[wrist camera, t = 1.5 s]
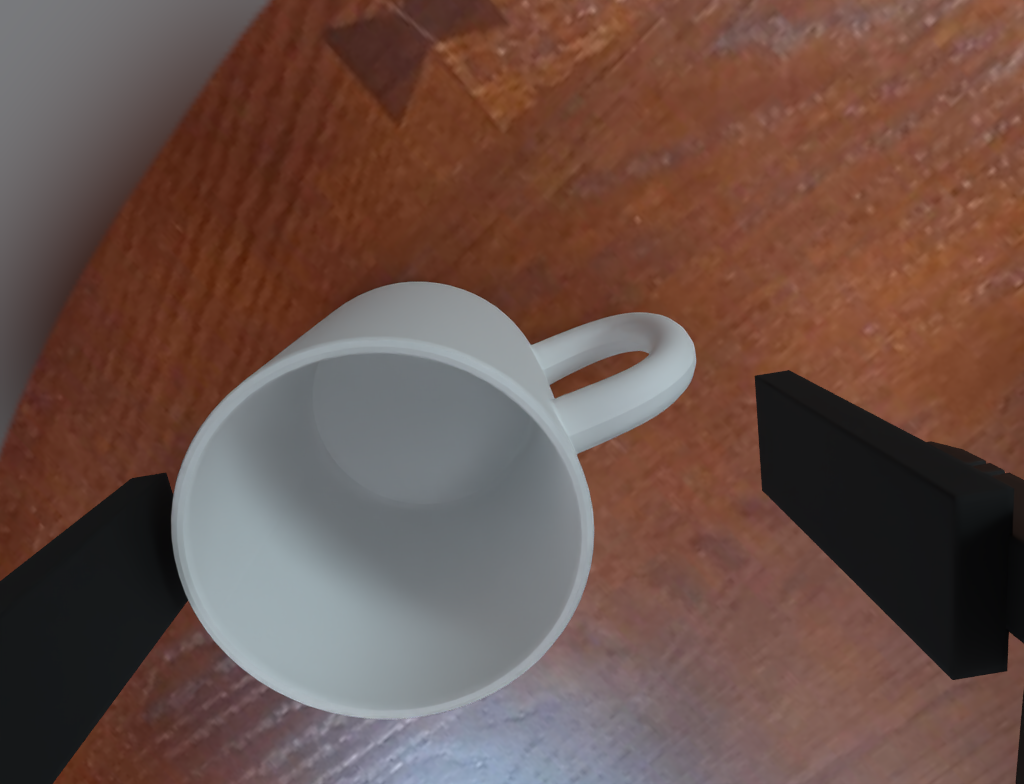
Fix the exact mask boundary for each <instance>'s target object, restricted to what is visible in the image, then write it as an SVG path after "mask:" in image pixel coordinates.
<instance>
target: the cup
mask: <svg viewBox="0 0 1024 784" xmlns="http://www.w3.org/2000/svg"><path fill="white" fill-rule="evenodd" d="M631 351H644V352H647V353H649V355H648V357H646V358H645V359H644V360H643V361H641V362H639V363H638V364H636V365H634V366H633V367H631V368H629V369H627V370H625V371H622V372H620V373H618V374H616V375H613V376H611V377H609V378H606V379H604V380H601V381H599V382H596V383H594V384H592V385H589V386H586V387H584V388H581V389H579V390H576V391H574V392H571V393H568V394H566V395H563V396H561V397H558V398H555V399H554V396H553V393H552V391H551V388H550V384H552V383H554V382H556V381H558V380H560V379H562V378H564V377H565V376H567V375H569V374H571V373H573V372H575V371H577V370H579V369H581V368H584V367H586V366H588V365H590V364H592V363H595V362H597V361H599V360H602V359H605V358H607V357H610V356H613V355H617V354H620V353H625V352H631ZM695 366H696V354H695V348H694V344H693V342H692V339H691V338H690V337H689V335H688V334H687V332H686V331H685V329H684V328H683V327H682V326H680V325H679V324H678V323H676V322H674V321H673V320H671V319H670V318H667V317H665V316H662V315H658V314H652V313H642V312H635V313H626V314H619V315H615V316H610V317H606V318H603V319H599V320H596V321H593V322H590V323H587V324H584V325H581V326H578V327H575V328H573V329H570V330H568V331H565V332H562V333H560V334H557V335H555V336H552V337H550V338H548V339H545V340H543V341H540V342H538V343H535V344H533V345H531V344H530V343H529V341H528V340H527V338H526V337H525V335H524V334H523V333H522V332H521V330H520V329H519V328H518V327H517V326H516V324H515V323H514V322H513V321H512V320H511V319H510V318H509V317H508V316H507V315H506V314H504V313H503V312H502V311H501V310H499V309H498V308H497V307H496V306H494V305H493V304H491V303H490V302H488V301H487V300H485V299H483V298H481V297H479V296H477V295H475V294H473V293H471V292H468V291H466V290H463V289H460V288H457V287H453V286H450V285H445V284H440V283H432V282H404V283H396V284H391V285H386V286H383V287H379V288H376V289H373V290H371V291H368V292H366V293H364V294H361V295H359V296H357V297H355V298H354V299H352V300H350V301H348V302H346V303H345V304H343V305H342V306H341V307H339V308H338V309H336V310H335V311H333V312H332V313H331V314H329V315H328V316H327V317H326V318H324V319H323V320H322V321H320V322H319V323H318V324H317V325H315V326H314V327H313V328H311V329H310V330H309V331H308V332H306V333H305V334H304V335H302V336H301V337H300V338H299V339H297V340H296V341H295V342H293V343H292V344H291V345H290V346H288V347H287V348H286V349H284V350H283V351H282V352H281V353H279V354H278V355H277V356H275V357H274V358H273V359H272V360H270V361H269V362H268V363H266V364H265V365H264V366H262V367H261V368H260V369H259V370H257V371H256V372H255V373H253V374H252V375H251V376H250V377H248V378H247V379H246V380H244V381H243V382H242V383H241V384H240V385H238V386H237V387H236V388H235V389H234V390H233V391H231V392H230V393H229V394H228V395H227V396H226V397H225V398H224V399H223V400H222V401H221V402H220V403H219V404H218V405H217V406H216V408H215V409H214V410H213V411H212V412H211V413H210V415H209V416H208V417H207V419H206V420H205V421H204V423H203V424H202V425H201V427H200V429H199V430H198V432H197V434H196V435H195V437H194V439H193V440H192V442H191V444H190V446H189V448H188V450H187V453H186V455H185V457H184V459H183V462H182V464H181V468H180V471H179V474H178V477H177V480H176V485H175V490H174V495H173V501H172V513H171V536H172V545H173V552H174V558H175V562H176V566H177V570H178V574H179V578H180V580H181V583H182V586H183V588H184V591H185V594H186V596H187V598H188V600H189V602H190V604H191V606H192V608H193V610H194V612H195V614H196V615H197V617H198V619H199V620H200V622H201V623H202V625H203V627H204V628H205V629H206V631H207V632H208V633H209V635H210V636H211V637H212V638H213V640H214V641H215V642H216V643H217V644H218V646H219V647H220V648H221V649H222V650H223V651H224V652H225V653H226V654H227V655H228V656H229V657H230V658H231V659H232V660H233V661H234V662H235V663H237V664H238V665H239V666H240V667H241V668H242V669H243V670H245V671H246V672H247V673H249V674H250V675H252V676H253V677H254V678H256V679H257V680H258V681H260V682H262V683H263V684H265V685H266V686H268V687H270V688H271V689H273V690H275V691H277V692H279V693H281V694H283V695H285V696H287V697H289V698H291V699H293V700H295V701H298V702H300V703H303V704H305V705H308V706H311V707H314V708H317V709H320V710H324V711H327V712H331V713H336V714H340V715H345V716H351V717H359V718H368V719H406V718H415V717H423V716H428V715H433V714H439V713H443V712H446V711H450V710H453V709H457V708H460V707H463V706H465V705H468V704H471V703H473V702H476V701H478V700H480V699H482V698H484V697H486V696H488V695H491V694H493V693H494V692H496V691H498V690H499V689H501V688H503V687H505V686H506V685H508V684H510V683H511V682H512V681H514V680H515V679H516V678H518V677H519V676H521V675H522V674H523V673H525V672H526V671H527V670H528V669H529V668H530V667H531V666H533V665H534V664H535V663H536V662H537V661H538V660H539V659H540V658H541V657H542V656H543V655H544V654H545V653H546V652H547V651H548V650H549V649H550V647H551V646H552V645H553V644H554V642H555V641H556V640H557V638H558V637H559V636H560V635H561V633H562V632H563V630H564V629H565V627H566V626H567V624H568V622H569V621H570V619H571V618H572V616H573V614H574V612H575V610H576V608H577V606H578V604H579V602H580V599H581V597H582V594H583V591H584V589H585V586H586V583H587V579H588V575H589V571H590V567H591V562H592V555H593V547H594V520H593V509H592V503H591V498H590V492H589V489H588V485H587V482H586V479H585V475H584V472H583V470H582V467H581V465H580V462H579V460H578V457H577V454H578V453H580V452H583V451H585V450H587V449H590V448H592V447H594V446H597V445H599V444H601V443H604V442H606V441H608V440H610V439H613V438H615V437H617V436H619V435H621V434H623V433H625V432H627V431H630V430H632V429H634V428H635V427H637V426H639V425H641V424H643V423H645V422H647V421H648V420H650V419H652V418H653V417H655V416H657V415H658V414H660V413H661V412H663V411H664V410H665V409H667V408H668V407H669V406H670V405H671V404H673V403H674V402H675V401H676V400H677V399H678V397H679V396H680V395H681V394H682V393H683V392H684V391H685V390H686V388H687V387H688V385H689V384H690V382H691V380H692V377H693V374H694V370H695Z"/></svg>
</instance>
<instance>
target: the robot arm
mask: <svg viewBox="0 0 1024 784" xmlns="http://www.w3.org/2000/svg"><path fill="white" fill-rule="evenodd" d="M755 387H756V402H757V418H758V433H759V448H760V463H761V479H762V491H763V492H764V493H765V494H767V495H768V496H769V497H770V498H771V499H772V500H773V501H774V502H775V503H776V504H777V505H778V506H779V507H780V508H781V509H782V510H783V511H784V512H785V513H786V514H787V515H788V516H789V517H790V518H791V519H792V520H793V521H794V522H795V523H796V524H797V525H798V526H799V527H800V528H801V529H802V530H803V531H804V532H805V533H806V534H807V535H808V536H809V537H810V538H811V539H812V540H813V541H814V542H815V543H816V544H817V545H818V546H819V547H820V548H821V549H822V550H823V551H824V552H825V553H826V554H827V555H828V556H829V557H830V558H831V559H832V560H833V561H834V562H835V563H836V564H837V565H838V566H839V567H840V568H841V569H842V570H843V571H844V572H845V573H846V574H847V575H848V576H849V577H850V578H851V579H852V580H853V581H854V582H855V583H856V584H857V585H858V586H859V587H860V588H861V589H862V590H863V591H864V592H865V593H866V594H867V595H868V596H869V597H870V598H871V599H872V600H873V601H874V602H875V603H876V604H877V605H878V606H879V607H880V608H881V609H882V610H883V611H884V612H885V613H886V614H887V615H888V616H889V617H890V618H891V619H892V620H893V621H894V622H895V623H896V624H897V625H898V626H899V627H900V628H901V629H902V630H903V631H904V632H905V633H906V634H907V635H908V636H909V637H910V638H911V639H912V640H913V641H914V642H915V643H916V644H917V645H918V646H919V647H920V648H921V649H922V650H923V651H924V652H925V653H926V654H927V655H928V656H929V657H930V658H931V659H932V660H933V661H934V662H935V663H936V664H937V665H938V666H939V667H940V668H941V669H942V670H943V671H944V672H945V673H946V674H947V675H948V676H949V677H950V678H951V679H952V680H956V679H962V678H968V677H974V676H980V675H986V674H992V673H998V672H1004V671H1007V663H1008V637H1009V632H1010V633H1011V634H1013V635H1014V636H1015V637H1016V638H1018V639H1019V640H1020V641H1021V642H1023V643H1024V480H1023V479H1021V478H1019V477H1017V476H1015V475H1013V474H1011V473H1006V474H1005V471H1004V470H1003V469H1001V468H999V467H997V466H995V465H993V464H991V463H988V464H986V461H985V460H983V459H981V458H979V457H977V456H975V455H973V454H971V453H969V452H967V451H965V450H963V449H959V448H955V447H951V446H947V445H943V444H939V443H935V442H925V441H923V440H921V439H919V438H917V437H915V436H913V435H911V434H909V433H907V432H906V431H904V430H902V429H900V428H898V427H896V426H894V425H892V424H890V423H888V422H886V421H885V420H883V419H881V418H879V417H877V416H875V415H873V414H871V413H869V412H867V411H866V410H864V409H862V408H860V407H858V406H856V405H854V404H852V403H850V402H848V401H846V400H845V399H843V398H841V397H839V396H837V395H835V394H833V393H831V392H829V391H827V390H826V389H824V388H822V387H820V386H818V385H816V384H814V383H812V382H810V381H808V380H806V379H805V378H803V377H801V376H799V375H797V374H795V373H793V372H791V371H789V370H788V371H782V372H776V373H770V374H763V375H757V376H755ZM172 501H173V493H172V490H171V487H170V483H169V480H168V477H167V474H166V473H161V474H155V475H149V476H143V477H137V478H132V479H130V480H129V481H128V482H126V483H125V484H124V485H123V486H121V487H120V488H119V489H118V490H116V491H115V492H114V493H112V494H111V495H110V496H109V497H107V498H106V499H105V500H103V501H102V502H101V503H100V504H98V505H97V506H96V507H95V508H93V509H92V510H91V511H89V512H88V513H87V514H86V515H84V516H83V517H82V518H80V519H79V520H78V521H77V522H75V523H74V524H73V525H72V526H70V527H69V528H68V529H66V530H65V531H64V532H63V533H61V534H60V535H59V536H57V537H56V538H55V539H54V540H52V541H51V542H50V543H49V544H47V545H46V546H45V547H43V548H42V549H41V550H40V551H38V552H37V553H36V554H34V555H33V556H32V557H31V558H29V559H28V560H27V561H26V562H24V563H23V564H22V565H20V566H19V567H18V568H17V569H15V570H14V571H13V572H12V573H10V574H9V575H8V576H6V577H5V578H4V579H3V580H1V581H0V784H53V782H54V781H55V780H56V778H57V777H58V776H59V774H60V773H61V771H62V770H63V769H64V767H65V766H66V765H67V763H68V762H69V761H70V759H71V758H72V757H73V755H74V754H75V752H76V751H77V750H78V748H79V747H80V746H81V744H82V743H83V742H84V740H85V739H86V738H87V736H88V735H89V734H90V732H91V731H92V729H93V728H94V727H95V725H96V724H97V723H98V721H99V720H100V719H101V717H102V716H103V715H104V713H105V712H106V711H107V709H108V708H109V706H110V705H111V704H112V702H113V701H114V700H115V698H116V697H117V696H118V694H119V693H120V692H121V690H122V689H123V687H124V686H125V685H126V683H127V682H128V681H129V679H130V678H131V677H132V675H133V674H134V673H135V671H136V670H137V669H138V667H139V666H140V664H141V663H142V662H143V660H144V659H145V658H146V656H147V655H148V654H149V652H150V651H151V650H152V648H153V647H154V645H155V644H156V643H157V641H158V640H159V639H160V637H161V636H162V635H163V633H164V632H165V631H166V629H167V628H168V627H169V625H170V624H171V622H172V621H173V620H174V618H175V617H176V616H177V614H178V613H179V612H180V610H181V609H182V608H183V606H184V605H185V603H186V602H187V601H188V598H187V596H186V594H185V591H184V588H183V586H182V583H181V580H180V578H179V574H178V570H177V566H176V562H175V558H174V552H173V545H172V536H171V513H172ZM1016 784H1024V692H1023V704H1022V716H1021V727H1020V739H1019V750H1018V762H1017V773H1016Z"/></svg>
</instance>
